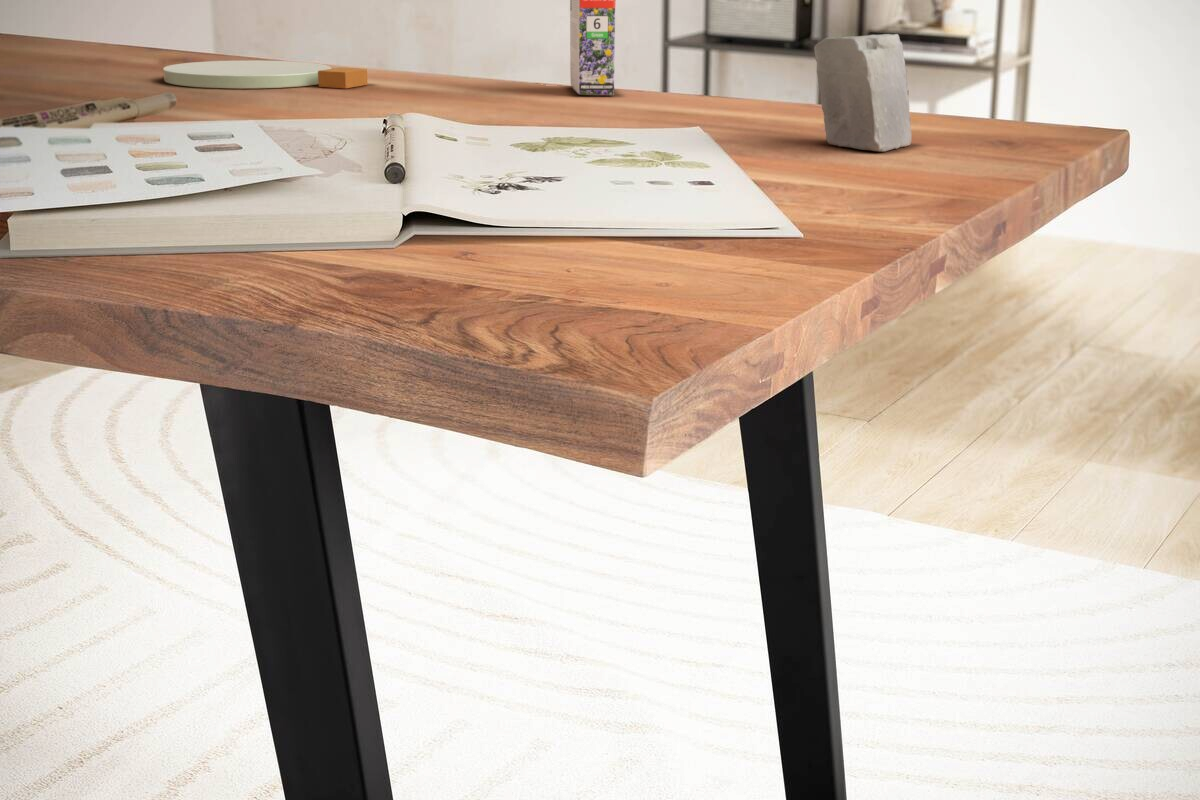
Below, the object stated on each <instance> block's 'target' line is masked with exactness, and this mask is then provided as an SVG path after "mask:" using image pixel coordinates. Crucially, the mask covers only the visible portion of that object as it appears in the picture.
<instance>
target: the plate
mask: <svg viewBox="0 0 1200 800" xmlns="http://www.w3.org/2000/svg"><path fill="white" fill-rule="evenodd" d="M327 69H332V67H331V66H329V65H328V64H327V65H326V64H322V63H315V62H305V61H291V60H290V61H288V60H257V59H256V60H253V59H252V60H251V59H250V60H211V61H209V60H208V61H195V62H184V63H176V64H169V65H166V66H165V67H163V68H162V75H163V81H164V83H167V84H169V85H174V86H181V87H188V88H203V89H204V88H205V89H228V90H229V89H231V90H232V89H233V90H235V89H237V90H247V89H249V90H251V89H253V90H254V89H255V90H256V89H257V90H258V89H284V88H285V89H287V88H299V87H301V88H302V87H309V86H310V87H311V86H316V85H318V86H319V82H318V71H320V70H327Z"/></svg>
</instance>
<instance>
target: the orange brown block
mask: <svg viewBox="0 0 1200 800" xmlns="http://www.w3.org/2000/svg"><path fill="white" fill-rule="evenodd" d="M318 82H319V84H318V88H328V89H329V88H330V89H346V90H347V89H351V88H358V87H362V86H368V69H367V68H355V67H334V68H331V69H327V70H320V71H318Z"/></svg>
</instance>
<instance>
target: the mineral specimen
mask: <svg viewBox="0 0 1200 800" xmlns="http://www.w3.org/2000/svg"><path fill="white" fill-rule="evenodd" d="M900 38H901V37H900V35H899V32H898V33H897V32H896V33H894V34H893V33H892V34H891V33H883V34H868V35H859V36H856V35H854V36H852V35H851V36H843V37H839V36H835V37H833V36H832V37H831V36H830V37H825V38H824V39H822V40H820V41H819V42H817V43H816V44H815V45H814V47H813V49H814V58H815V61H816V75H817V82H818V87H819V96H820V100H821V110H822V113H823V122H824V132H825V138H826V139H825V140H826V142H827V143H828V144H829V145H831V146H838V147H840V148H842V147H844V148H848V149H849V148H850V149H851V148H852V149H855V150H862V151H872V152H888V151H892V150H897V149H899V148H903V147H907V146H910V145H911V143H912V137H913V135H912V125H911V113H910V101H909V100H910V99H909V89H908V73H907V72H908V70H907V67H906V60H905V58H904V45H903V42H902V41H901V39H900Z"/></svg>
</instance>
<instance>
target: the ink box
mask: <svg viewBox="0 0 1200 800" xmlns="http://www.w3.org/2000/svg"><path fill="white" fill-rule="evenodd" d="M569 34H570V35H569V48H570V49H569V70H570V71H569V72H570V73H569V74H570V76H569V78H570V86H571V88H572V89H573V91H575V92H576V94H578V95H579V96H614V95H615V52H616V51H615V50H616V49H615V46H616V45H615V44H616V43H615V42H616V0H569ZM572 86H574V87H572Z"/></svg>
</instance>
